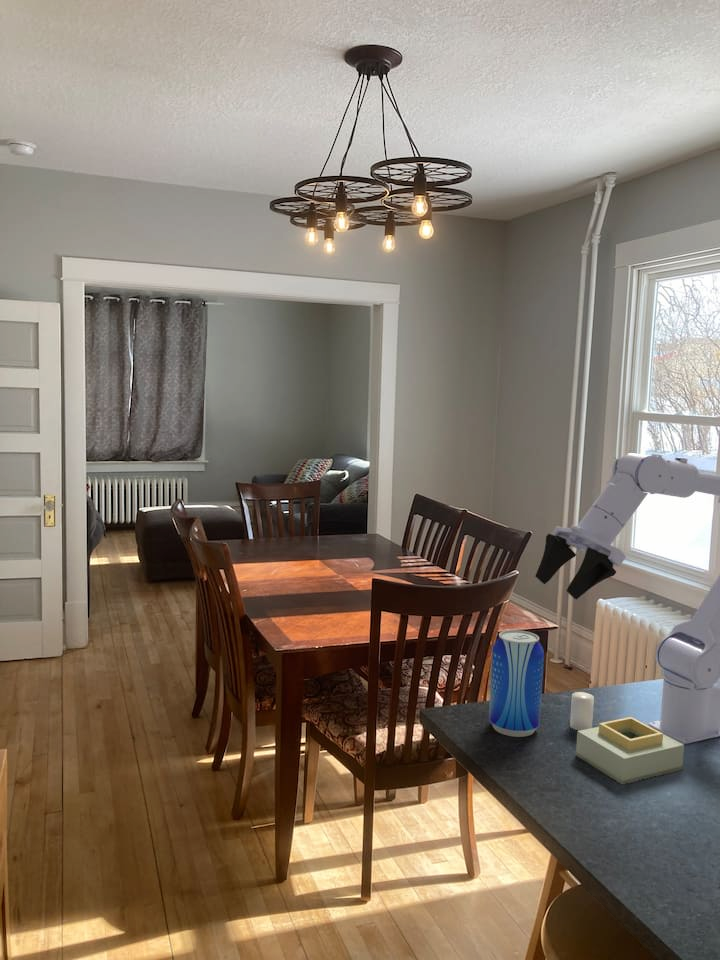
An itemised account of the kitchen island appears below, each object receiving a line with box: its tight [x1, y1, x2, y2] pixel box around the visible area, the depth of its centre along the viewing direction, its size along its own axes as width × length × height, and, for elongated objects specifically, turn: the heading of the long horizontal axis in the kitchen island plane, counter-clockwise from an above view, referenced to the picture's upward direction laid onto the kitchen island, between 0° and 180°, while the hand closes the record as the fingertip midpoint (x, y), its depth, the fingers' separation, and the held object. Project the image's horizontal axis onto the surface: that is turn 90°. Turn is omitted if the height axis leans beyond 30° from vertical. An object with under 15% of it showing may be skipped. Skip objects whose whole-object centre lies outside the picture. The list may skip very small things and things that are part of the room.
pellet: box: [569, 691, 595, 731], centre depth 136 cm, size 4×4×6 cm
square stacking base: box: [575, 716, 685, 786], centre depth 123 cm, size 12×10×6 cm
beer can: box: [488, 629, 545, 738], centre depth 134 cm, size 8×8×16 cm
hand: (555, 587), depth 123 cm, fingers open, 7 cm apart
